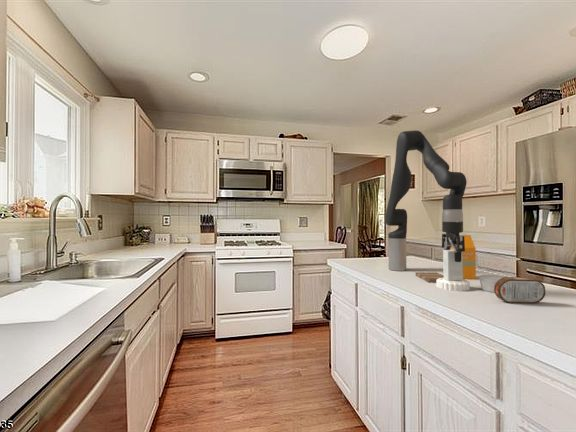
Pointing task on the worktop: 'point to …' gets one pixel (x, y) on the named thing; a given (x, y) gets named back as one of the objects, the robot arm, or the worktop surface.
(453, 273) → the skincare box
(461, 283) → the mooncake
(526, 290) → the tin
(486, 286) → the ramekin
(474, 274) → the orange juice
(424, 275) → the walnut board
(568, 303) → the worktop surface
